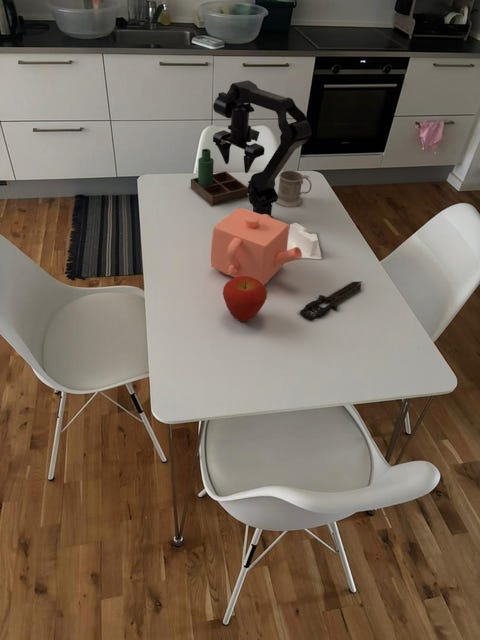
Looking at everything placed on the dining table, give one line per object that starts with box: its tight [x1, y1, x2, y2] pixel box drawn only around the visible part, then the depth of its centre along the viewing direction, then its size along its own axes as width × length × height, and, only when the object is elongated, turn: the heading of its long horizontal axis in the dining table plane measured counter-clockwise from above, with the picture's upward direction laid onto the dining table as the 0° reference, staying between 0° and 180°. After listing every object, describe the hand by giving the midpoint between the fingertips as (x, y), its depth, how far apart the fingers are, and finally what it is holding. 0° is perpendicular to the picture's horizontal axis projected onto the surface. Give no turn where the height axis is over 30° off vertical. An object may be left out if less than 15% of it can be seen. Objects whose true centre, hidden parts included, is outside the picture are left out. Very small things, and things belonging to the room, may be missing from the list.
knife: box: [299, 281, 362, 321], centre depth 142 cm, size 25×6×1 cm, turn 127°
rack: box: [190, 170, 249, 207], centre depth 186 cm, size 15×15×4 cm
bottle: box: [197, 148, 215, 187], centre depth 183 cm, size 5×5×14 cm
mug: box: [275, 170, 312, 208], centre depth 181 cm, size 14×10×12 cm
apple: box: [222, 276, 268, 322], centre depth 131 cm, size 11×11×12 cm
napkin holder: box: [287, 222, 323, 260], centre depth 162 cm, size 15×11×6 cm
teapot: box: [210, 207, 302, 286], centre depth 144 cm, size 25×23×18 cm
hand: (236, 168), depth 174 cm, fingers open, 9 cm apart
